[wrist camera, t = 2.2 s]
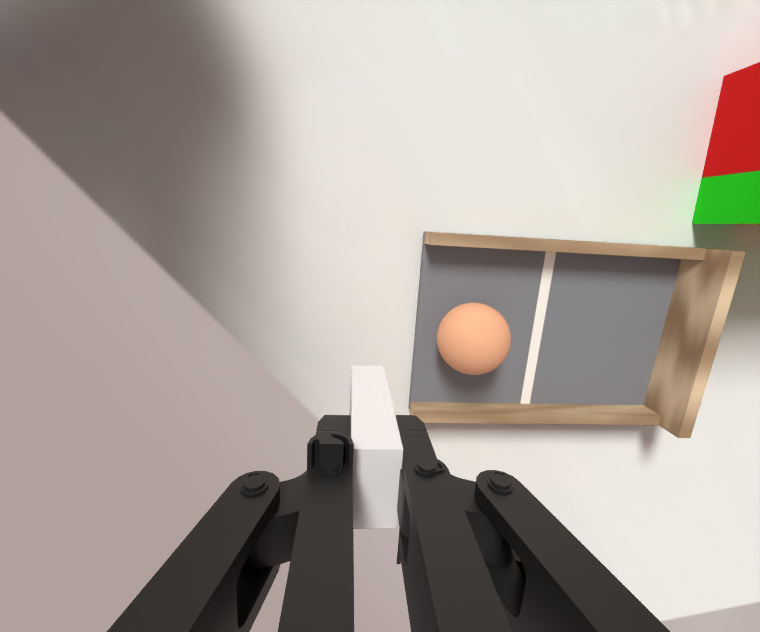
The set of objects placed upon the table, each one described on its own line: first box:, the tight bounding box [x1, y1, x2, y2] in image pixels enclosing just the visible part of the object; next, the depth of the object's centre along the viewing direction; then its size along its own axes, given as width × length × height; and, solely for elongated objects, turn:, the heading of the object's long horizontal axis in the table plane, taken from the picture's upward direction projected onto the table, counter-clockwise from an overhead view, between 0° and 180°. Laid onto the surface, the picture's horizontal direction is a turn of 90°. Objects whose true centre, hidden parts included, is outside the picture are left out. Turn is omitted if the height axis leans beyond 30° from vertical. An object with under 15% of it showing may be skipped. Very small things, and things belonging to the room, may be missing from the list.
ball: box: [437, 303, 511, 375], centre depth 25 cm, size 5×5×5 cm
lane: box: [409, 232, 690, 410], centre depth 29 cm, size 14×21×1 cm, turn 87°
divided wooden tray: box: [410, 232, 746, 438], centre depth 27 cm, size 14×21×4 cm, turn 87°
